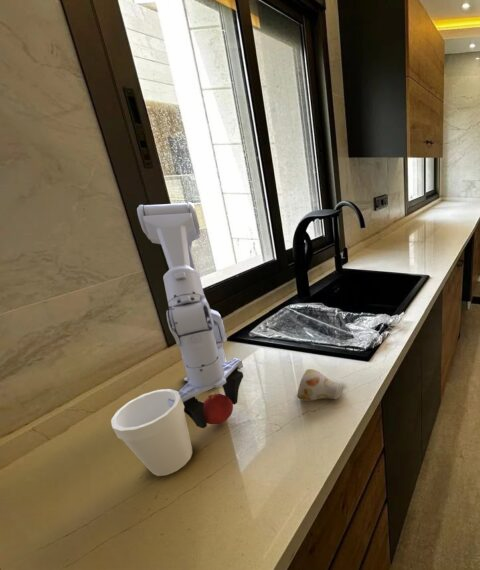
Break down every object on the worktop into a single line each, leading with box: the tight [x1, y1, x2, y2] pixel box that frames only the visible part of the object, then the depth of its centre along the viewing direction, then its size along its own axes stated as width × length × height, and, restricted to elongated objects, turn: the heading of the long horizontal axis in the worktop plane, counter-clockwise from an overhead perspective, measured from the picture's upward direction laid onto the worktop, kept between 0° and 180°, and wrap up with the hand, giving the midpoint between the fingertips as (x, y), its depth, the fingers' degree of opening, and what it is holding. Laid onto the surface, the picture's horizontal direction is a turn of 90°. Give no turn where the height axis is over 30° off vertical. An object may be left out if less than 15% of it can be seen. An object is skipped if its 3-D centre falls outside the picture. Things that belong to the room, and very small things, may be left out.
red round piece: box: [203, 392, 234, 426], centre depth 69 cm, size 6×6×8 cm
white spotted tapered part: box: [296, 368, 343, 402], centre depth 77 cm, size 8×10×10 cm
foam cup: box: [110, 388, 193, 477], centre depth 59 cm, size 10×9×13 cm
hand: (217, 413), depth 69 cm, fingers open, 7 cm apart
